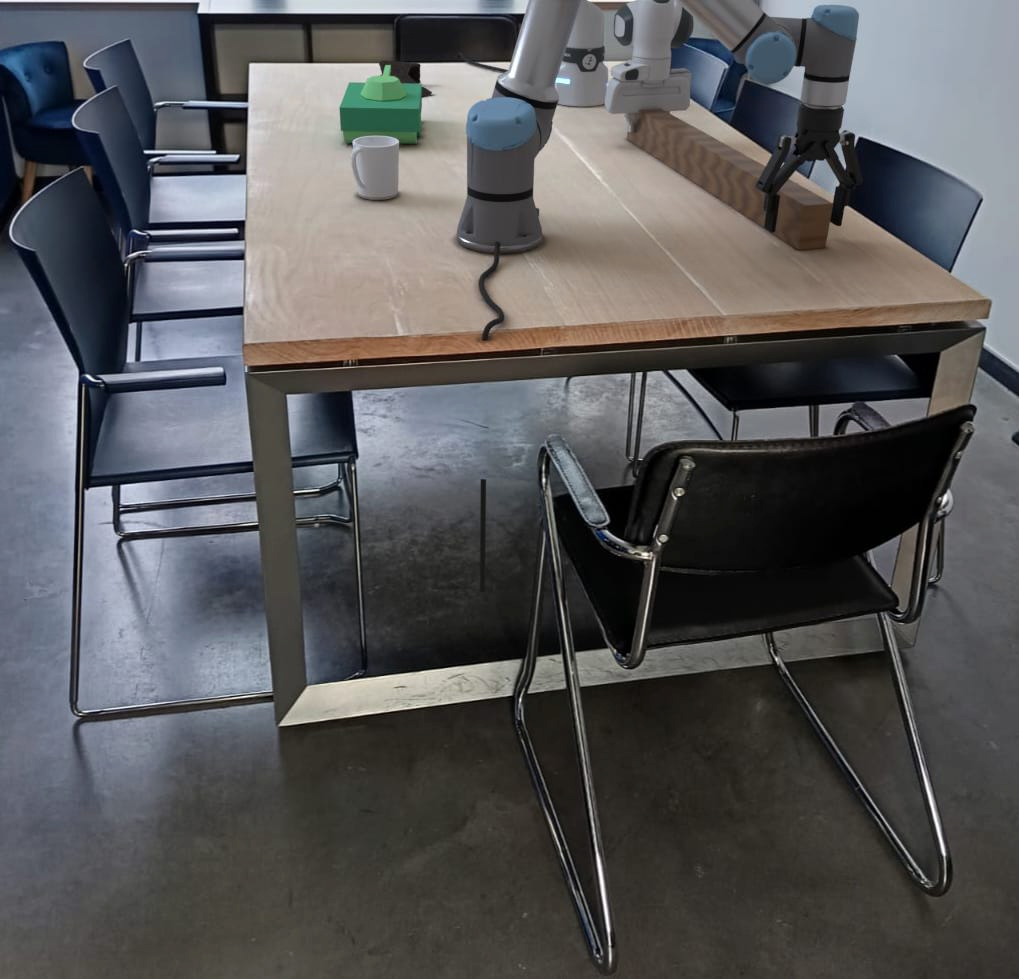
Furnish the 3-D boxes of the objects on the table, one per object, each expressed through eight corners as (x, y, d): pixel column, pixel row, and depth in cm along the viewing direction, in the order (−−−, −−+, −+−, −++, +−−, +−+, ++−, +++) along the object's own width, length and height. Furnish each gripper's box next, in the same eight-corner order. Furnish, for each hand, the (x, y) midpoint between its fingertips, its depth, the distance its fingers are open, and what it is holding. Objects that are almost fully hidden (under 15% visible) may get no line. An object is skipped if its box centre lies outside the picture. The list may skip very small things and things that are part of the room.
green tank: (422, 61, 273) (418, 91, 243) (422, 112, 279) (419, 147, 249) (350, 60, 272) (338, 90, 242) (353, 111, 278) (341, 146, 248)
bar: (825, 247, 196) (833, 203, 192) (797, 250, 195) (805, 205, 190) (648, 137, 262) (651, 103, 257) (626, 139, 260) (629, 104, 256)
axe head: (443, 87, 294) (392, 77, 287) (436, 115, 299) (385, 106, 292) (421, 62, 307) (371, 52, 300) (414, 89, 311) (365, 80, 304)
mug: (378, 184, 223) (375, 133, 218) (409, 193, 218) (408, 141, 213) (338, 196, 216) (335, 143, 210) (370, 205, 211) (367, 151, 206)
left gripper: (873, 96, 193) (851, 215, 204) (746, 103, 186) (731, 225, 197) (897, 105, 186) (874, 227, 198) (767, 113, 180) (750, 239, 191)
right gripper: (686, 64, 254) (680, 126, 261) (604, 68, 249) (600, 130, 256) (698, 70, 249) (691, 132, 256) (614, 73, 244) (610, 136, 251)
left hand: (802, 227), depth 197 cm, fingers open, 13 cm apart
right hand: (645, 131), depth 256 cm, fingers closed on bar, 5 cm apart
